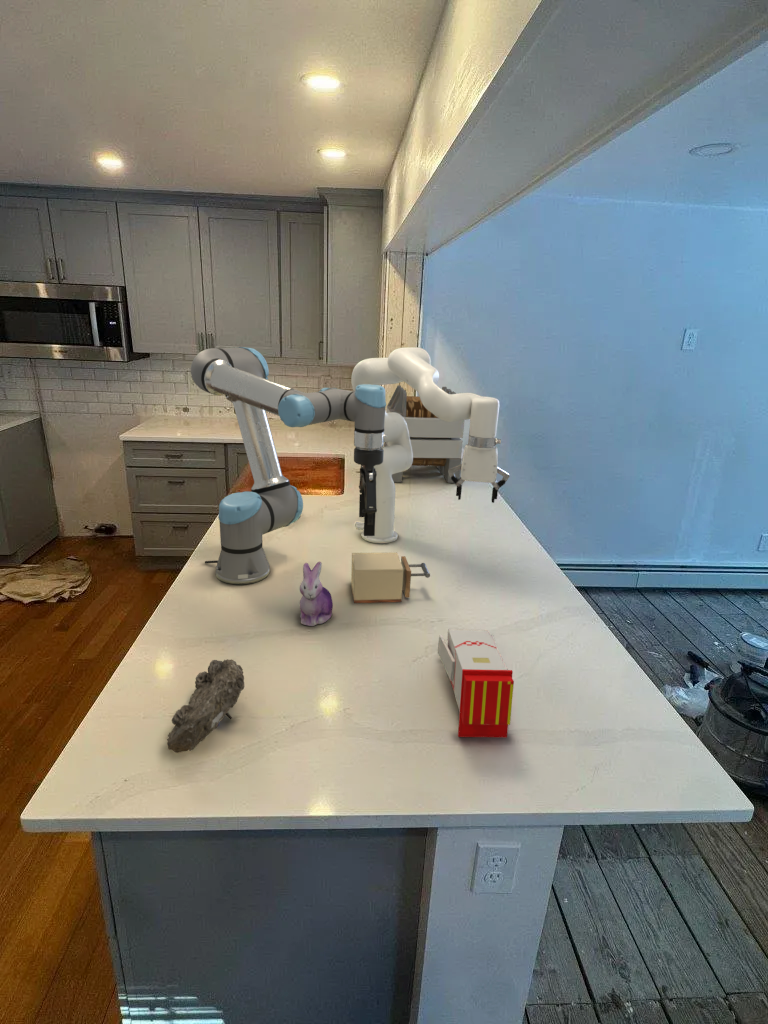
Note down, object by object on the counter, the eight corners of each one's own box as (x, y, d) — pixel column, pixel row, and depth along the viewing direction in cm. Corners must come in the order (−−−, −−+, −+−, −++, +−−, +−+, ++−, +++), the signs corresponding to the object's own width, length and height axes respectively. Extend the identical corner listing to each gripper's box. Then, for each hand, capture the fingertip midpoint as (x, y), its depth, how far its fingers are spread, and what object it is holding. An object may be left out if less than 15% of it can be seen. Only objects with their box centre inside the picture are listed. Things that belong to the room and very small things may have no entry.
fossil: (192, 660, 117) (244, 628, 112) (224, 691, 120) (276, 661, 115) (142, 746, 98) (202, 712, 93) (182, 779, 101) (242, 748, 96)
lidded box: (395, 583, 164) (397, 552, 160) (401, 601, 154) (403, 569, 150) (351, 584, 162) (351, 552, 159) (354, 603, 152) (355, 569, 149)
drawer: (422, 581, 164) (424, 555, 161) (429, 597, 155) (431, 570, 152) (363, 582, 162) (364, 556, 159) (366, 598, 153) (367, 571, 150)
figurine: (305, 631, 137) (304, 575, 132) (291, 611, 146) (290, 558, 141) (340, 623, 142) (342, 569, 137) (325, 604, 150) (326, 552, 145)
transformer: (382, 463, 289) (386, 382, 275) (445, 464, 293) (451, 384, 279) (390, 482, 257) (394, 392, 243) (460, 483, 261) (468, 394, 247)
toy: (488, 613, 130) (523, 677, 101) (484, 667, 133) (517, 744, 104) (435, 612, 130) (455, 676, 101) (432, 666, 133) (451, 743, 103)
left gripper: (390, 460, 132) (386, 543, 139) (377, 437, 155) (375, 509, 163) (358, 459, 131) (356, 544, 138) (350, 436, 154) (348, 510, 162)
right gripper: (512, 441, 161) (505, 498, 167) (451, 437, 163) (446, 493, 169) (513, 447, 154) (506, 506, 160) (450, 442, 156) (445, 501, 162)
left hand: (366, 525), depth 151 cm, fingers open, 13 cm apart
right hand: (476, 499), depth 164 cm, fingers open, 9 cm apart
